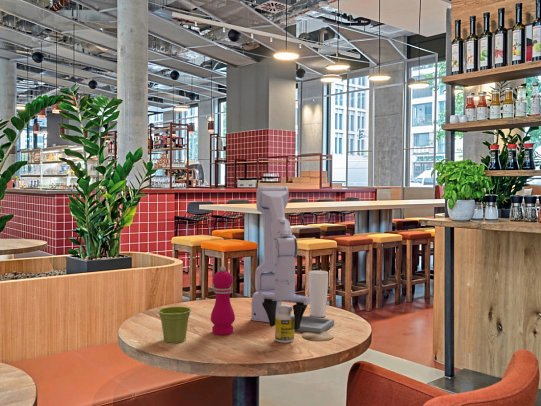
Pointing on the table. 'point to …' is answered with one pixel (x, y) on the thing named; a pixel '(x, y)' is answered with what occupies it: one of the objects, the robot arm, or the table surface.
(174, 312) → the plant pot
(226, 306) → the pepper mill
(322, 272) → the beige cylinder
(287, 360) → the table surface
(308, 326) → the tray
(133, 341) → the table surface
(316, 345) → the table surface
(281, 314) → the supplement bottle
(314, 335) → the cork coaster
